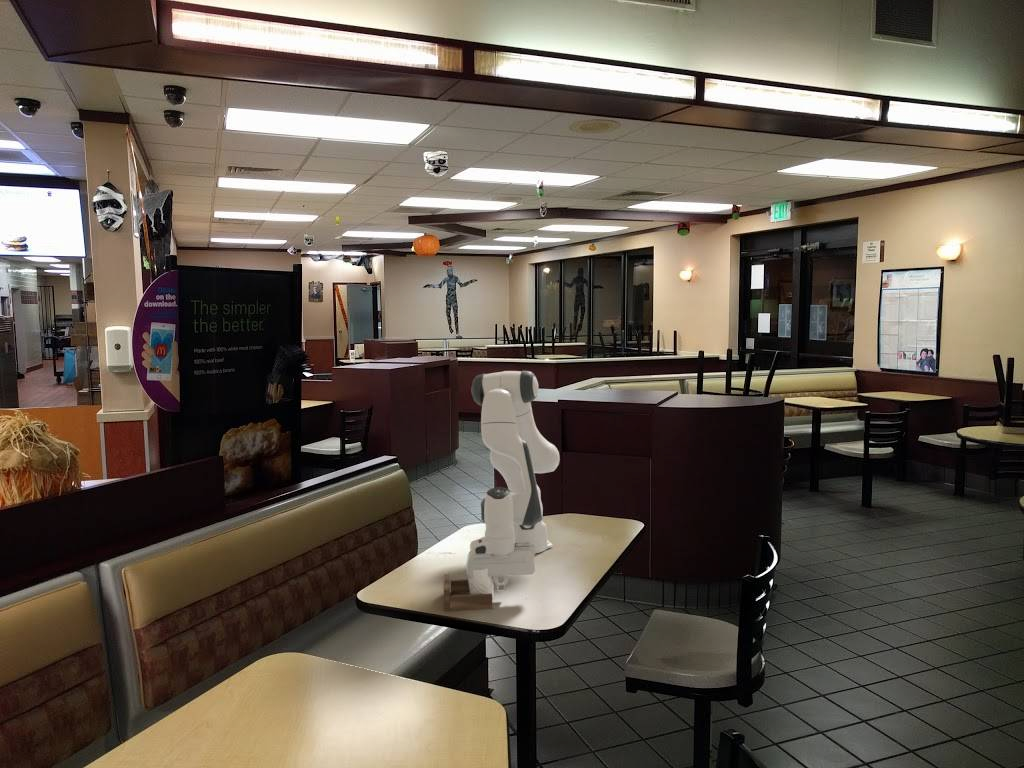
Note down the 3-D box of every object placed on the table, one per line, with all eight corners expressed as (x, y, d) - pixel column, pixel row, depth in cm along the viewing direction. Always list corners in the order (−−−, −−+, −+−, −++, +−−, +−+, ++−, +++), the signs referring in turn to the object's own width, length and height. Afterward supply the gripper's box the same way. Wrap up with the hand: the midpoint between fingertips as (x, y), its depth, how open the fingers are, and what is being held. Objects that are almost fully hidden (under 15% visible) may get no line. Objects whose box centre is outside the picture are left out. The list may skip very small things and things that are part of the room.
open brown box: (445, 593, 206) (444, 573, 205) (490, 590, 207) (489, 571, 206) (444, 611, 193) (443, 590, 192) (492, 608, 194) (491, 587, 193)
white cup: (485, 605, 195) (482, 571, 195) (463, 600, 200) (460, 567, 199) (500, 595, 202) (498, 562, 201) (479, 591, 206) (477, 559, 205)
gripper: (533, 538, 203) (534, 583, 204) (465, 542, 201) (466, 587, 202) (536, 545, 196) (537, 591, 198) (466, 549, 194) (467, 596, 196)
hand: (501, 589), depth 200 cm, fingers closed
